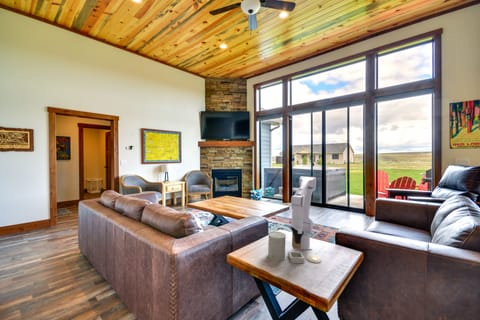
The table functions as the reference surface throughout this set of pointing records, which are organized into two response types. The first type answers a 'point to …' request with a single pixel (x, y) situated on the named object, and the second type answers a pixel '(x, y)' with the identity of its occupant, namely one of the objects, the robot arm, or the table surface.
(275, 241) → the grey cylinder
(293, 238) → the walnut block
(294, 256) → the pocket
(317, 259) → the coaster
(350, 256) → the table surface
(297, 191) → the robot arm
